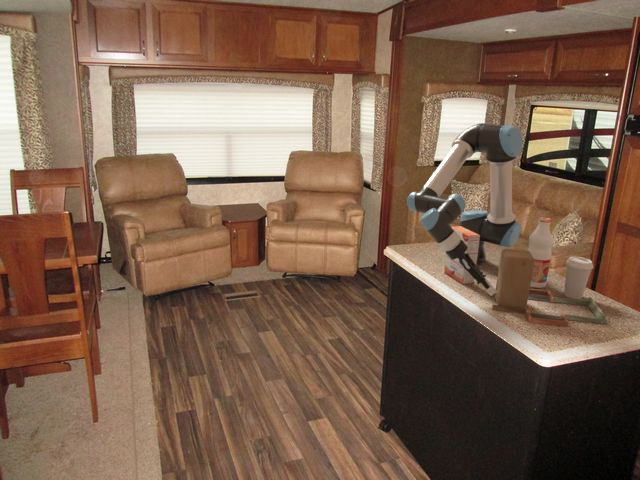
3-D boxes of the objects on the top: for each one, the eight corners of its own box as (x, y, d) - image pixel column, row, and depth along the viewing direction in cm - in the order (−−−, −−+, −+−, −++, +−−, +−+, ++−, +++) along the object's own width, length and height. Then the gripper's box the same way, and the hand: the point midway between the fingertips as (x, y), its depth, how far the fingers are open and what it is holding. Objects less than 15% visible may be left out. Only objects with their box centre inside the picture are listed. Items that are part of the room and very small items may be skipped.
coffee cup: (591, 301, 189) (599, 264, 185) (568, 301, 189) (575, 264, 184) (577, 291, 198) (584, 256, 194) (554, 291, 198) (561, 255, 193)
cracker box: (443, 272, 213) (448, 226, 207) (455, 271, 215) (461, 225, 209) (461, 284, 200) (468, 235, 194) (474, 283, 202) (481, 234, 196)
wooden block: (526, 311, 178) (535, 258, 172) (497, 307, 180) (505, 255, 174) (521, 300, 188) (529, 250, 182) (493, 297, 189) (501, 247, 184)
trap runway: (485, 287, 198) (486, 280, 198) (584, 298, 192) (585, 291, 191) (495, 317, 172) (496, 309, 171) (610, 331, 165) (612, 323, 164)
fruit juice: (519, 278, 210) (530, 214, 202) (543, 281, 208) (555, 216, 200) (523, 286, 201) (534, 220, 193) (547, 289, 199) (560, 222, 191)
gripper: (444, 246, 189) (483, 292, 190) (445, 257, 176) (486, 306, 178) (460, 234, 186) (499, 281, 188) (462, 244, 174) (504, 294, 176)
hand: (493, 293), depth 183 cm, fingers closed
